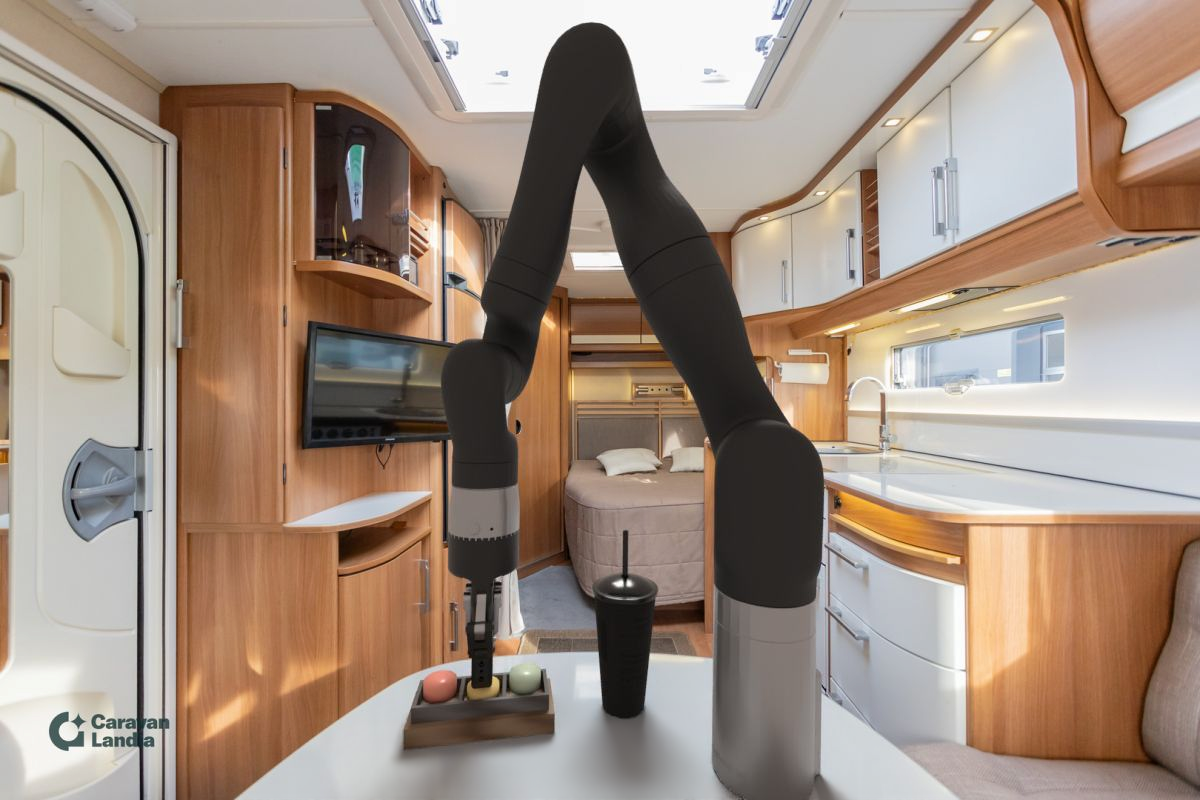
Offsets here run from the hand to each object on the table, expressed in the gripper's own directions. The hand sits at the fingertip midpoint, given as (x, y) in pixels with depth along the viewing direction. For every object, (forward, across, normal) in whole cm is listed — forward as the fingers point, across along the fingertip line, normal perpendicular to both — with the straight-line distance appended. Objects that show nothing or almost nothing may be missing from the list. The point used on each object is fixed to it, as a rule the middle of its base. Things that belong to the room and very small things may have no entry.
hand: (482, 684), depth 52 cm
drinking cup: (+4, 0, -16) cm, 16 cm away
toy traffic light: (+4, 0, 0) cm, 4 cm away
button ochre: (+2, 0, 0) cm, 2 cm away
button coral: (+1, 0, +4) cm, 4 cm away
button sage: (+1, 0, -5) cm, 5 cm away
